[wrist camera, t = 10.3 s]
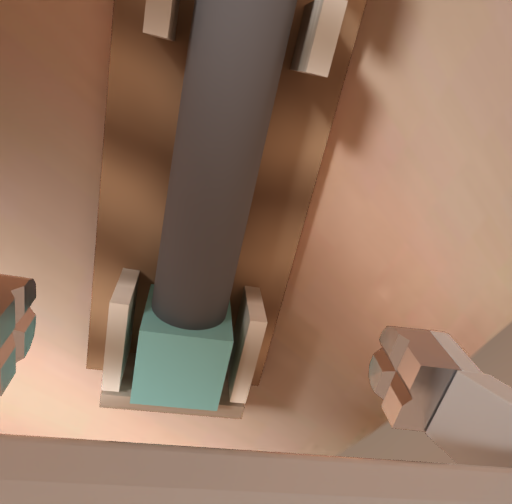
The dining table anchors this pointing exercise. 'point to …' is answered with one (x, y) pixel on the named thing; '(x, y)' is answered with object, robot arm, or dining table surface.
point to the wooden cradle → (158, 172)
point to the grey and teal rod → (209, 199)
